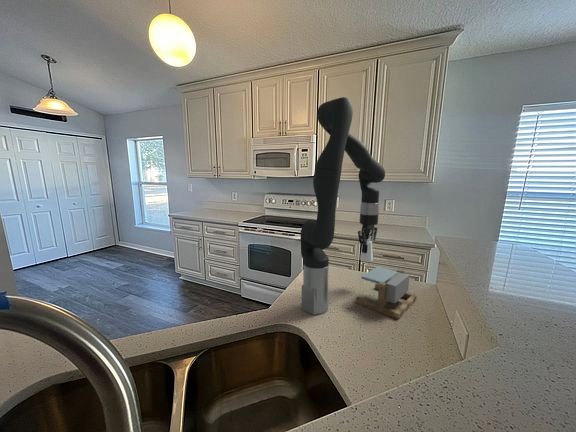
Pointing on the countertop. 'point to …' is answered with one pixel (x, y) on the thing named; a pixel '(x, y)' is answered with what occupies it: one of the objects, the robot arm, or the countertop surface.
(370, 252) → the pepper shaker
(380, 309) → the wooden frame stand
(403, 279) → the trapdoor
